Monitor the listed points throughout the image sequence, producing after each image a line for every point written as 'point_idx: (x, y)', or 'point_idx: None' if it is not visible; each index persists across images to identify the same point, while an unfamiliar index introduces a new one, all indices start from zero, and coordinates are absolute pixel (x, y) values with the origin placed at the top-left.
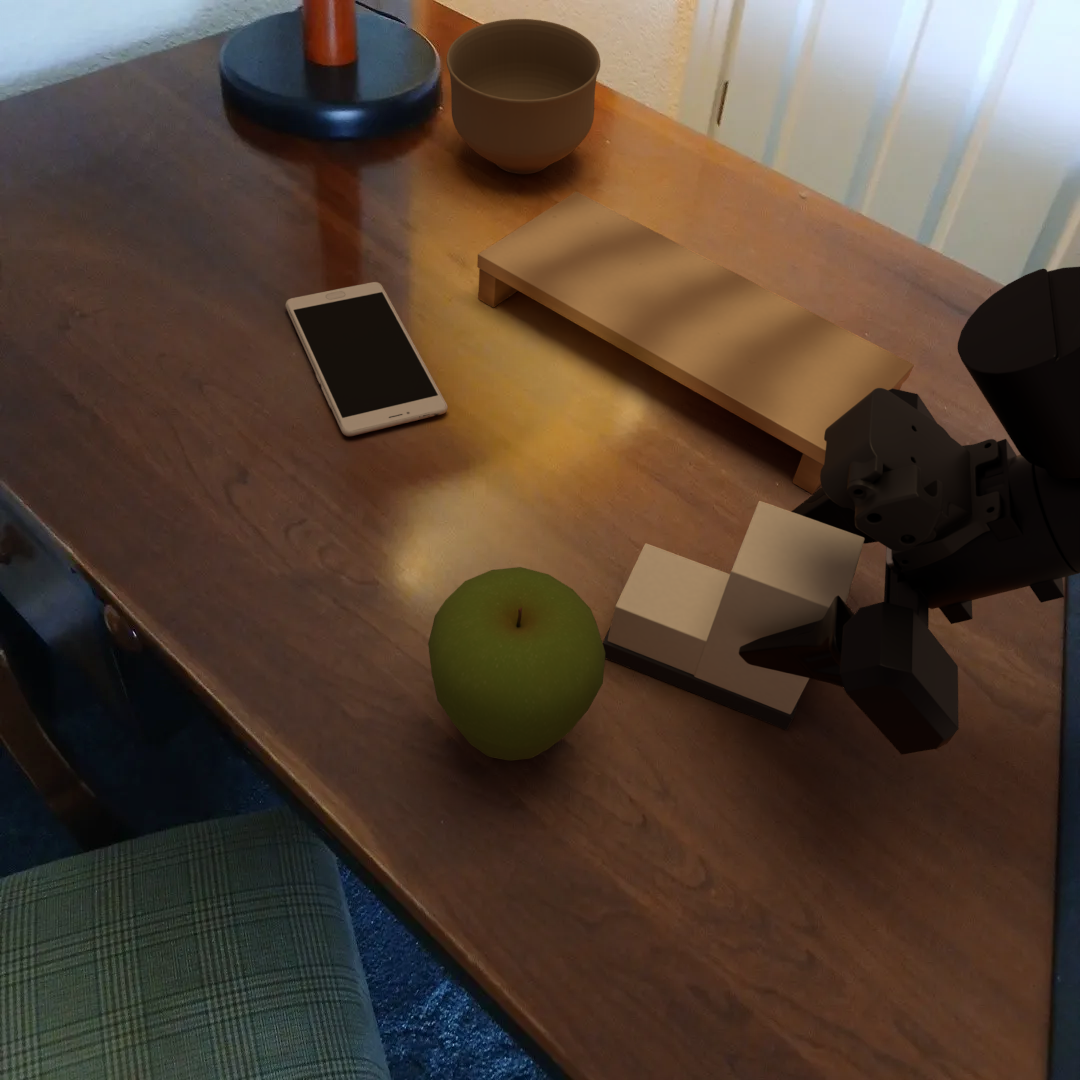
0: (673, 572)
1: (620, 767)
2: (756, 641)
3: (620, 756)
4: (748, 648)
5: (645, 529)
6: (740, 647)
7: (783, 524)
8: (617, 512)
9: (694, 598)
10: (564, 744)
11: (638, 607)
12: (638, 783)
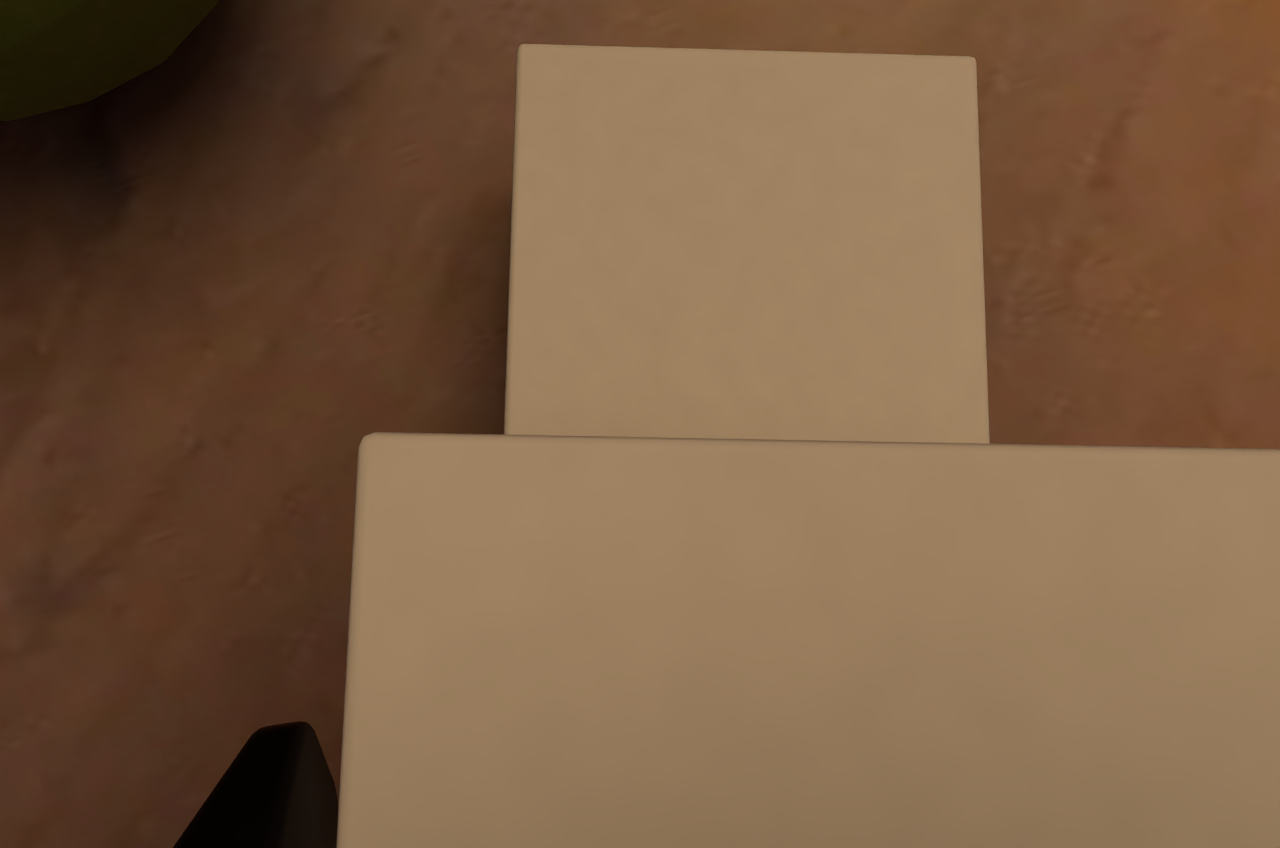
0: (858, 241)
1: (95, 412)
2: (250, 833)
3: (140, 397)
4: (232, 787)
5: (1206, 155)
6: (289, 727)
7: (1264, 793)
8: (1231, 28)
9: (741, 390)
10: (114, 196)
11: (556, 145)
12: (54, 495)
